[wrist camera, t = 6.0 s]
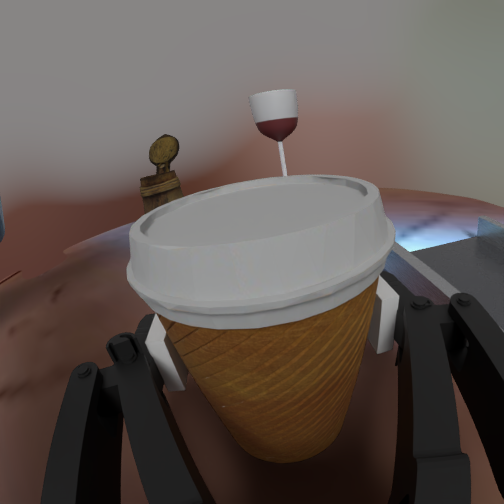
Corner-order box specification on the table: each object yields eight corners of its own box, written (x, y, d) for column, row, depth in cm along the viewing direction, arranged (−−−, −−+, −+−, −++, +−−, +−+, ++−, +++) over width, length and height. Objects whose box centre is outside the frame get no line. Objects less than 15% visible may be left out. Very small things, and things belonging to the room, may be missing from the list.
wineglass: (286, 195, 65) (270, 98, 57) (320, 198, 58) (305, 90, 50) (257, 205, 61) (238, 99, 52) (292, 209, 53) (273, 89, 45)
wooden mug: (205, 217, 59) (187, 128, 52) (191, 241, 46) (166, 127, 40) (163, 225, 59) (144, 139, 53) (141, 249, 47) (114, 142, 40)
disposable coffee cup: (171, 437, 14) (74, 239, 10) (265, 346, 21) (233, 177, 16) (321, 519, 8) (326, 289, 4) (394, 380, 15) (411, 173, 11)
